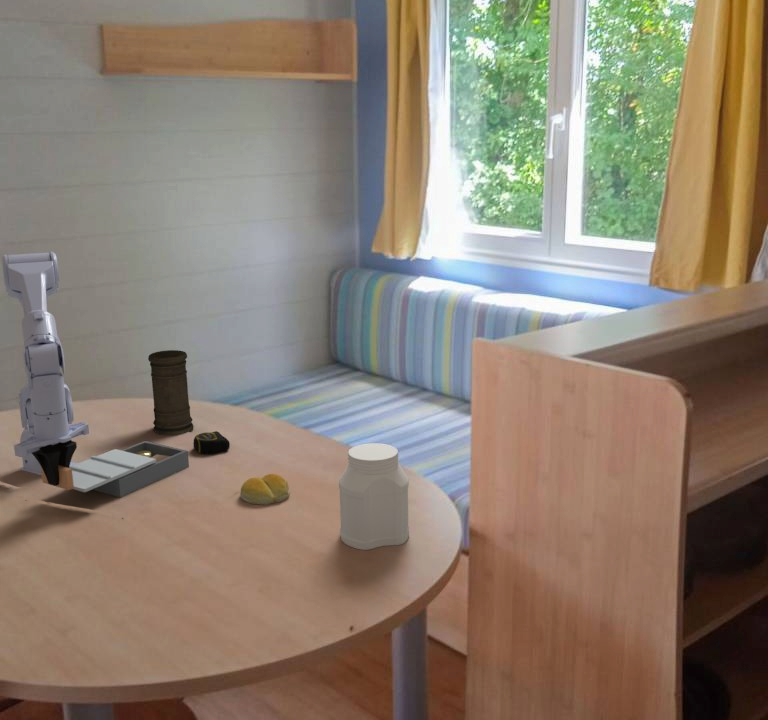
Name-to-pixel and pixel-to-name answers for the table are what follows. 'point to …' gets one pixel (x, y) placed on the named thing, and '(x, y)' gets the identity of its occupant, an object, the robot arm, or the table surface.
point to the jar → (373, 498)
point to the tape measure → (210, 443)
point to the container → (170, 393)
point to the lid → (99, 470)
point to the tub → (147, 469)
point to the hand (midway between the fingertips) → (57, 482)
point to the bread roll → (265, 490)
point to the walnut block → (159, 458)
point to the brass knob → (144, 454)
